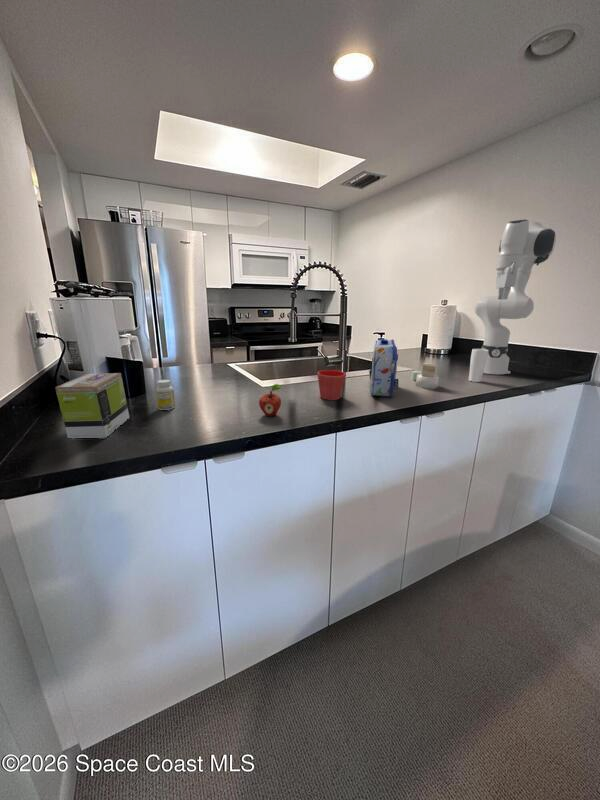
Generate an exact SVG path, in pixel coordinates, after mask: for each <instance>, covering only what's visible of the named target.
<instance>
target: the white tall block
mask: <svg viewBox="0 0 600 800" xmlns="http://www.w3.org/2000/svg"><path fill="white" fill-rule="evenodd" d="M488 351H489V350H486V349H481V348H472V350H471V355H470V362H469V363H470V364H469V372H468V373H469V374H468V381H469V382H471V381H472V382H471V383H480V382H482V380H483V379H482V378H483V376H484V375H483V374H484V373H483V372H484V368H485V365H486V362H487V358H488Z"/></svg>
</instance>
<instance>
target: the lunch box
mask: <svg viewBox="0 0 600 800" xmlns="http://www.w3.org/2000/svg"><path fill="white" fill-rule="evenodd" d="M398 359H399V354H398V347H397V346H396V344H395V340H394V339H387V338H385V339H383V338H381V339H376V340H375V342H374V346H373V353H372V364H371V375H370V380H369V381H370V382H369V392H370V395H371V396H380V397H390V398H392V397H393V396H394V395H395V390H398V389H399V378H396V377H397V370H398Z"/></svg>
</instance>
